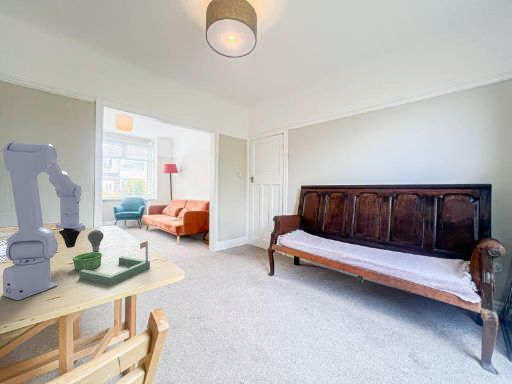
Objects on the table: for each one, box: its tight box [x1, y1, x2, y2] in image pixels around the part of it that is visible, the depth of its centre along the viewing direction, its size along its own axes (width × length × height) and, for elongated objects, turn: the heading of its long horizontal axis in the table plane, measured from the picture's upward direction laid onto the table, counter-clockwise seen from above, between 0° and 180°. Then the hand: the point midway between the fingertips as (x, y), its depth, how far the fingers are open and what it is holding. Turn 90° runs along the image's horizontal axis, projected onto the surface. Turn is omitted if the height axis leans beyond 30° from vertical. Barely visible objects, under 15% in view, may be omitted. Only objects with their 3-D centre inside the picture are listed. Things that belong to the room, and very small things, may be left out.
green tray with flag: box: [78, 240, 151, 286], centre depth 79 cm, size 16×14×10 cm
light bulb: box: [87, 229, 105, 252], centre depth 103 cm, size 6×6×10 cm
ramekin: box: [72, 251, 103, 271], centre depth 84 cm, size 9×9×4 cm
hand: (70, 247), depth 88 cm, fingers closed
